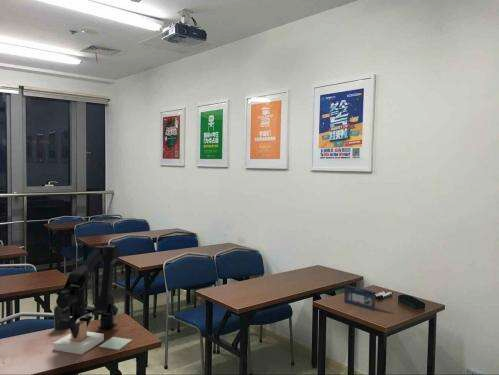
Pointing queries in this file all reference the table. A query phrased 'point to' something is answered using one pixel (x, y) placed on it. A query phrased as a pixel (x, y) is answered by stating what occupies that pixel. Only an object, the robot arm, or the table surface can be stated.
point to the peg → (80, 332)
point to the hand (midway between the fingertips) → (79, 335)
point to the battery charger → (58, 318)
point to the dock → (78, 343)
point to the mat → (115, 343)
